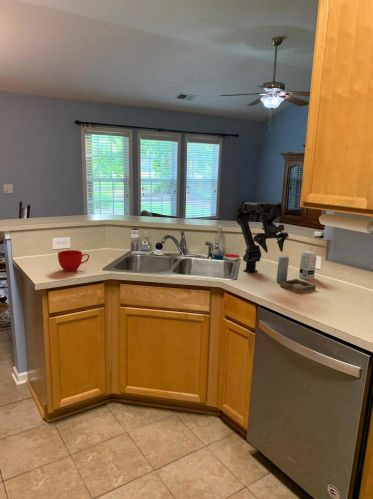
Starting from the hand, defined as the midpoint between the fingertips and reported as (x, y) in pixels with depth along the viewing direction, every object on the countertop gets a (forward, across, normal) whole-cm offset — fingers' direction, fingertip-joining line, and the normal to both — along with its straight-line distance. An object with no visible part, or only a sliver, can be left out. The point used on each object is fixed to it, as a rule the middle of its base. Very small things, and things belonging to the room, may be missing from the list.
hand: (274, 252), depth 193 cm
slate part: (+15, +5, +7) cm, 18 cm away
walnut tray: (+20, +8, -2) cm, 22 cm away
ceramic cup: (-11, -98, +51) cm, 111 cm away
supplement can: (+14, +25, +11) cm, 30 cm away
